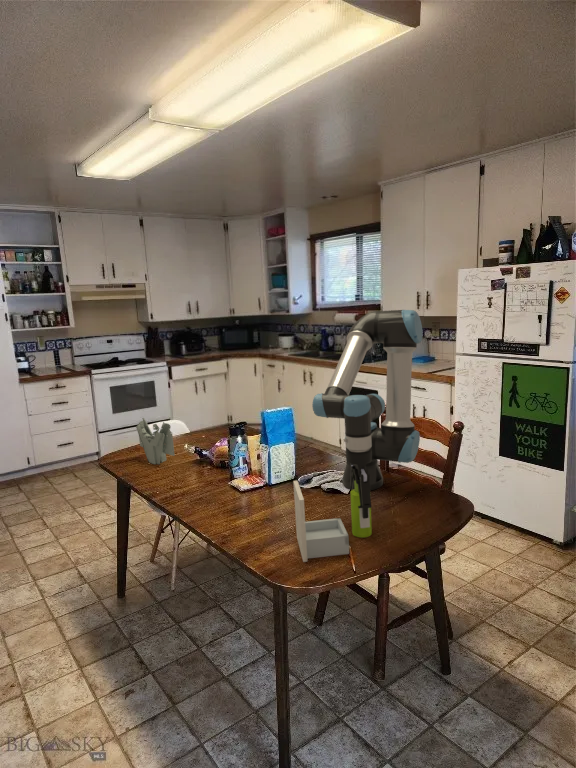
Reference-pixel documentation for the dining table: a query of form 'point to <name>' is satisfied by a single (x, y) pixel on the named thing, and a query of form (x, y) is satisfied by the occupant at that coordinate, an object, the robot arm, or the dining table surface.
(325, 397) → the robot arm
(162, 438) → the grey pronged sculpture
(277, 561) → the dining table surface
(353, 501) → the soap dispenser
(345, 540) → the cup bracket
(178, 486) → the dining table surface
